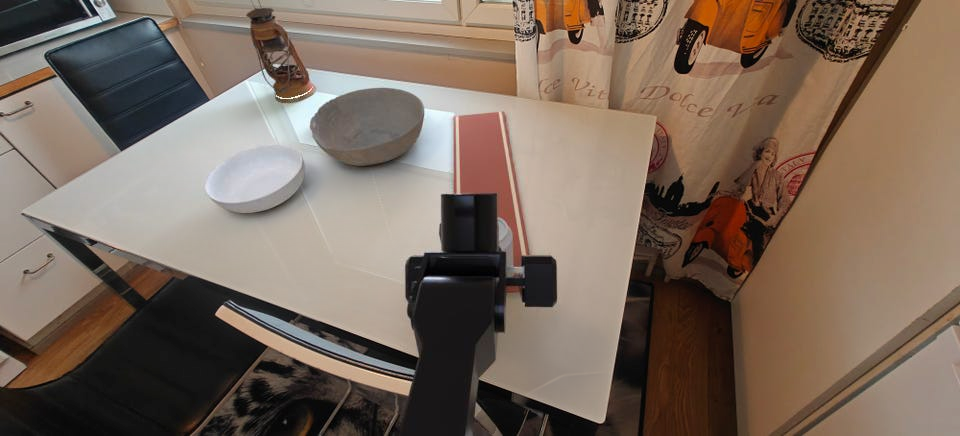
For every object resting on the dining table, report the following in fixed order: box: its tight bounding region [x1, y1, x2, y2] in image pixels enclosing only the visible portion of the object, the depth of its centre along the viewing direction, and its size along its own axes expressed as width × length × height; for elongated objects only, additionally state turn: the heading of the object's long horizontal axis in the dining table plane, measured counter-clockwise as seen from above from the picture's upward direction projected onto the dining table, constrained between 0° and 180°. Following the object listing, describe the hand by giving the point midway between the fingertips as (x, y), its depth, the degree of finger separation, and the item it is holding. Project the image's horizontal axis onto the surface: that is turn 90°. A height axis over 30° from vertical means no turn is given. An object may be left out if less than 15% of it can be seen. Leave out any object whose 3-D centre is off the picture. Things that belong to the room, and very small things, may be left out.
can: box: [498, 217, 514, 276], centre depth 68 cm, size 8×8×12 cm
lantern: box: [245, 0, 317, 104], centre depth 121 cm, size 17×13×30 cm
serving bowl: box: [204, 143, 306, 214], centre depth 92 cm, size 21×21×7 cm
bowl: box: [309, 87, 425, 167], centre depth 102 cm, size 28×28×10 cm
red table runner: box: [453, 111, 531, 294], centre depth 91 cm, size 60×14×1 cm, turn 3°
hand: (486, 272), depth 59 cm, fingers open, 9 cm apart
